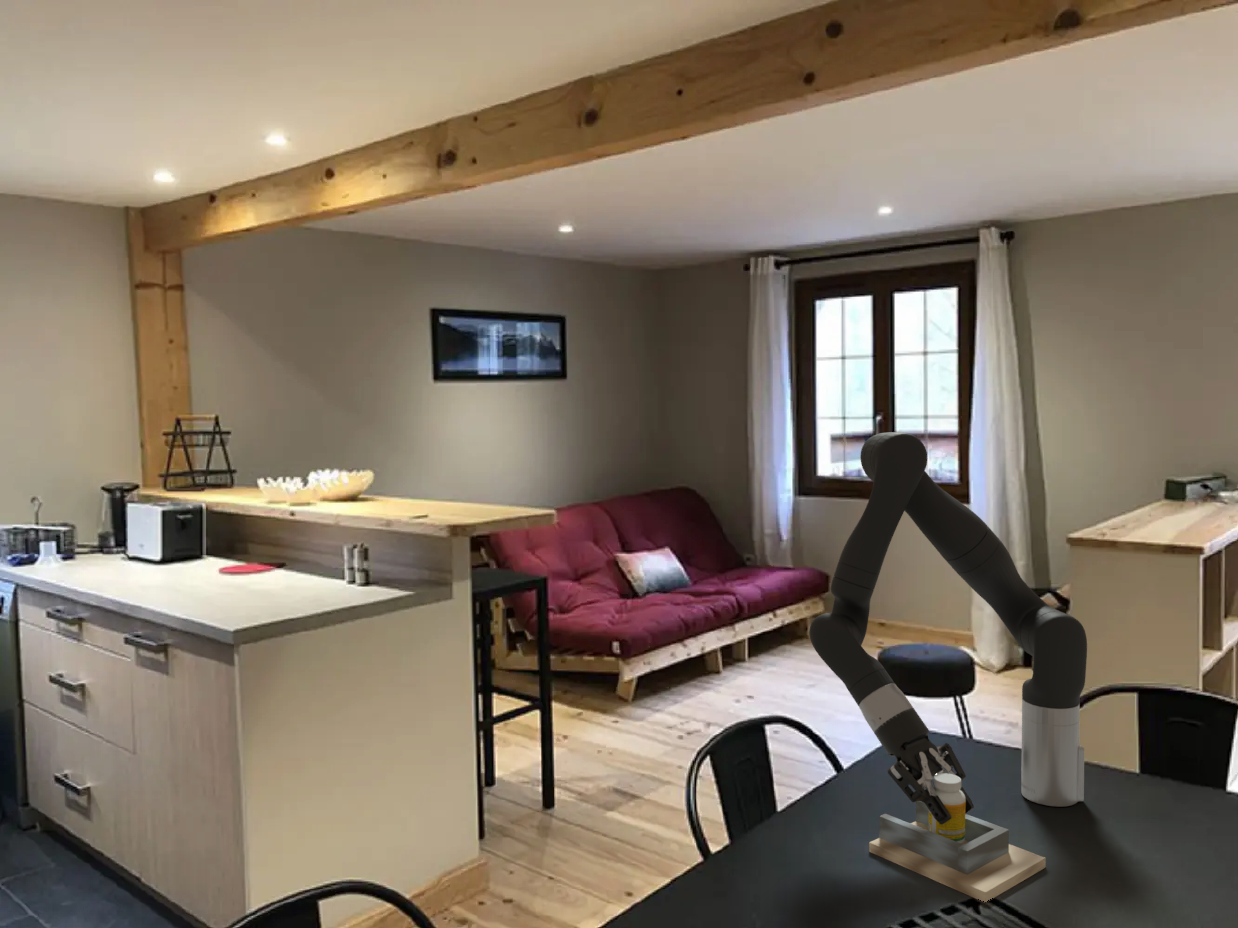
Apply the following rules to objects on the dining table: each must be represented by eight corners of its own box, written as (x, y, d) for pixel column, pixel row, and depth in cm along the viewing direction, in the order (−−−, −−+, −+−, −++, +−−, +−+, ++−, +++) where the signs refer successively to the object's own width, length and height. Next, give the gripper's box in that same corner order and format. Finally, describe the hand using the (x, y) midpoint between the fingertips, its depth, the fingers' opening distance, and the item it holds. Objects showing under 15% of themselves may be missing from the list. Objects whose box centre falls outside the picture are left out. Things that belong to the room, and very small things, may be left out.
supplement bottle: (921, 835, 152) (921, 775, 151) (947, 827, 154) (947, 768, 153) (946, 849, 147) (946, 787, 146) (972, 841, 149) (973, 780, 148)
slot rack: (869, 851, 152) (869, 820, 152) (930, 823, 162) (930, 793, 162) (985, 902, 137) (985, 868, 136) (1045, 867, 146) (1045, 835, 146)
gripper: (878, 717, 151) (945, 818, 142) (934, 698, 159) (1000, 792, 151) (851, 741, 155) (914, 840, 147) (906, 721, 164) (969, 814, 155)
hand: (957, 815), depth 149 cm, fingers closed on supplement bottle, 5 cm apart
